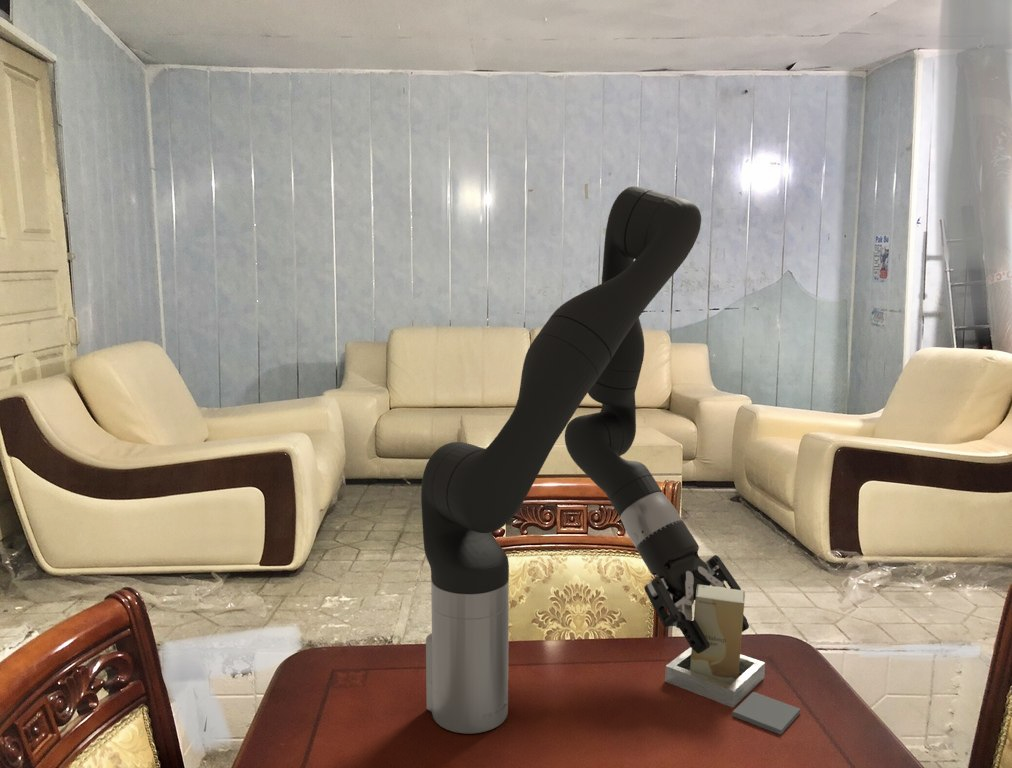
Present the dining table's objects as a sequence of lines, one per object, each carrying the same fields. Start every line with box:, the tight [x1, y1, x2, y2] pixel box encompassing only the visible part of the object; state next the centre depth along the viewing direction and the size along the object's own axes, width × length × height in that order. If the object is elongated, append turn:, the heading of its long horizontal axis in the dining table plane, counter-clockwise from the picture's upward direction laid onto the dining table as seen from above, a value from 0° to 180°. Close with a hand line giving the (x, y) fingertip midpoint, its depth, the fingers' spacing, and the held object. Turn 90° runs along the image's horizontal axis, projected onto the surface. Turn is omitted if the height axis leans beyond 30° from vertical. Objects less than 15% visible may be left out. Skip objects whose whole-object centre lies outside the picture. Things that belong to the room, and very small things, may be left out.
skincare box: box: [690, 584, 746, 685], centre depth 105 cm, size 6×4×12 cm
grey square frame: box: [664, 647, 766, 709], centre depth 106 cm, size 10×10×2 cm
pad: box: [732, 691, 801, 736], centre depth 98 cm, size 6×6×1 cm
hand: (724, 640), depth 105 cm, fingers open, 8 cm apart
